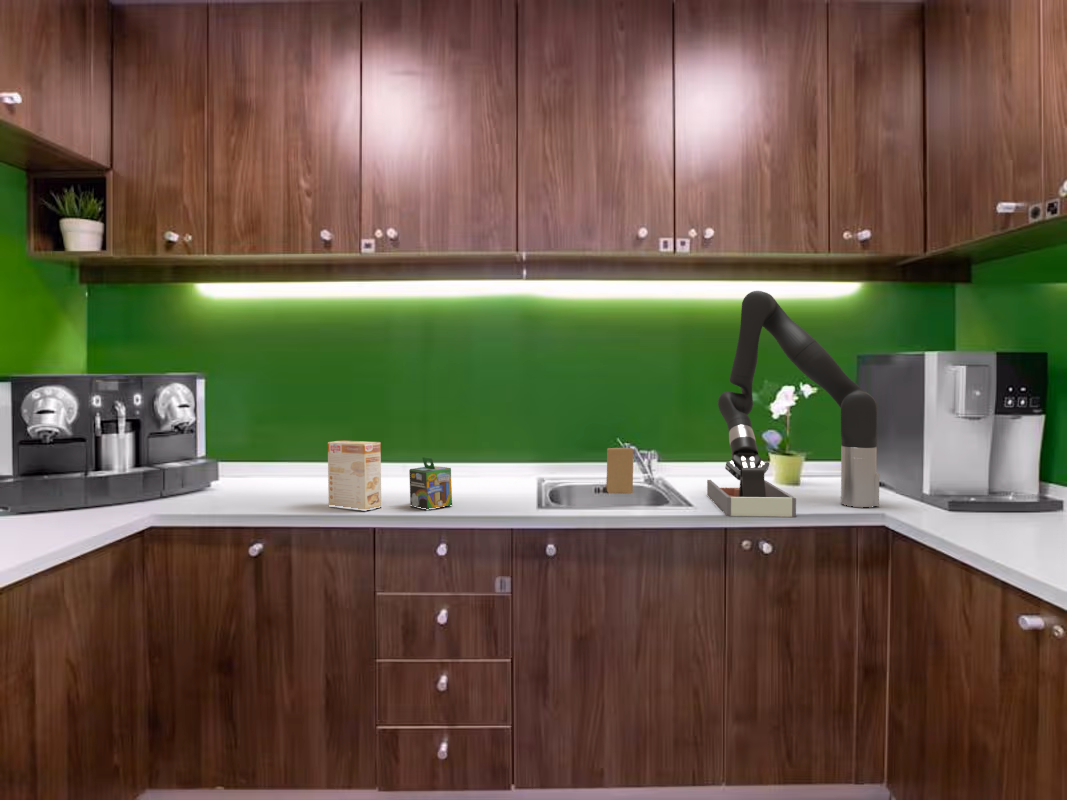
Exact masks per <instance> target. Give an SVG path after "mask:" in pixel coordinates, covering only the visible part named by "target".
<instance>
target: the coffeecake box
mask: <svg viewBox="0 0 1067 800" xmlns="http://www.w3.org/2000/svg"><path fill="white" fill-rule="evenodd" d="M381 444H382V443H381V442H380V441H360V440H335V441H328V442H327V474H328V475H327V478H328V479H327V480H328V488H327V489H328V506H329V505H335V506H343V507H351V508H358V509H370V508H374V507H379V506H381V507H382V466H381V465H382V463H381V462H382V459H381V458H382V456H381V453H382V452H381Z"/></svg>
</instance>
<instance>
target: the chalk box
mask: <svg viewBox="0 0 1067 800" xmlns="http://www.w3.org/2000/svg"><path fill="white" fill-rule="evenodd" d="M422 461H423V465H424V466H421V467H417V468H410V469H409V499H410V501H409V502H410V503H409V505H412V506H416V507H421V508H426V509H429V508H436V507H443V506H449V507H451V506H450V505H452V506H453V496H452V495H453V494H452V491H453V490H452V467H447V466H446V467H445V466H438V465H437V466H436V465H434V460H433V458H432V457H428V456H427V457H426V456H423V457H422ZM427 462H430V465H429V464H428V463H427Z"/></svg>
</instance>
